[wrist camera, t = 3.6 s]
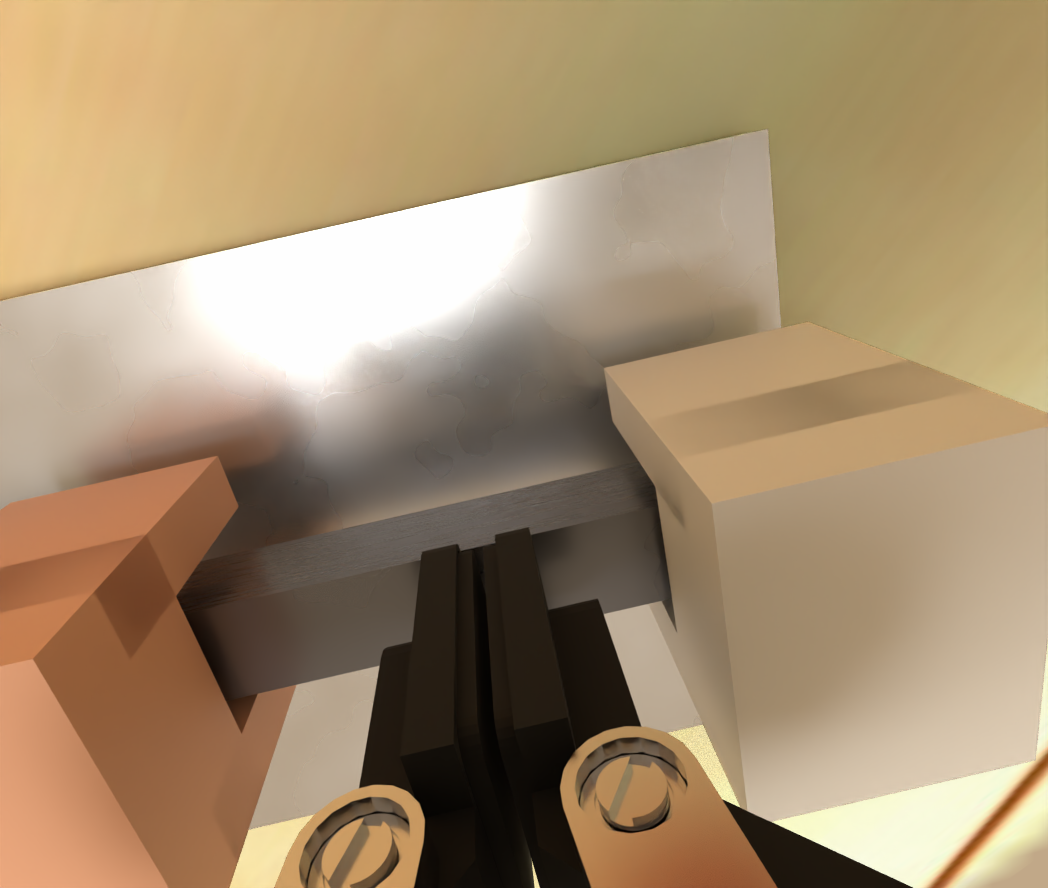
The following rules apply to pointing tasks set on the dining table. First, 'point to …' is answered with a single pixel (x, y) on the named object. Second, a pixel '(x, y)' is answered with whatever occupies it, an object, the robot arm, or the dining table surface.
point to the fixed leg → (844, 562)
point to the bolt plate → (397, 378)
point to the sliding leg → (121, 692)
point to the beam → (415, 576)
